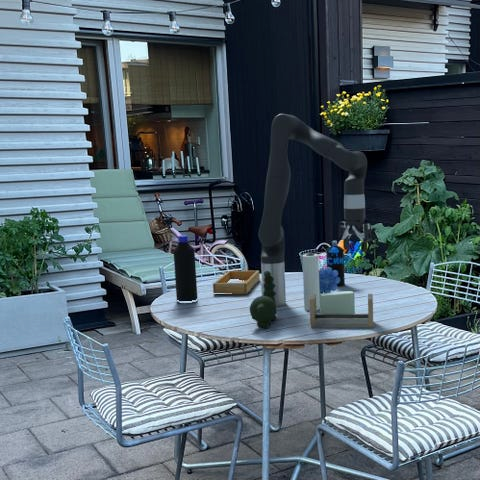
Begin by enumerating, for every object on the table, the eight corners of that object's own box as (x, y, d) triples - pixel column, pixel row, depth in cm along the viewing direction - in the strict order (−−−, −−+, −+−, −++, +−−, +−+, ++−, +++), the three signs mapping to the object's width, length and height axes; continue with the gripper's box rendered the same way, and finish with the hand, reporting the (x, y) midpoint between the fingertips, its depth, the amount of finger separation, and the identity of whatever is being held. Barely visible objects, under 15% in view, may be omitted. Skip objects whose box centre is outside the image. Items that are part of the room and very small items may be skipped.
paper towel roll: (318, 311, 235) (316, 255, 232) (302, 311, 237) (300, 255, 234) (322, 306, 242) (320, 252, 239) (307, 306, 244) (305, 252, 241)
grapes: (341, 292, 264) (340, 265, 262) (340, 296, 257) (339, 268, 256) (313, 292, 266) (312, 265, 265) (312, 296, 260) (311, 268, 258)
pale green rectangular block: (322, 320, 223) (322, 295, 222) (320, 317, 227) (319, 293, 225) (355, 317, 225) (354, 292, 224) (351, 314, 228) (351, 290, 227)
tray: (229, 281, 302) (228, 270, 301) (259, 281, 299) (259, 269, 298) (213, 296, 272) (212, 283, 272) (247, 296, 269) (246, 283, 268)
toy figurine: (258, 319, 235) (246, 332, 211) (256, 269, 234) (244, 276, 210) (283, 319, 234) (274, 332, 209) (281, 269, 233) (272, 276, 208)
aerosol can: (326, 283, 284) (325, 240, 282) (345, 282, 283) (343, 239, 280) (326, 287, 276) (325, 242, 274) (345, 286, 275) (344, 242, 272)
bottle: (194, 304, 258) (190, 237, 254) (174, 304, 260) (169, 237, 256) (200, 298, 266) (196, 234, 262) (180, 299, 268) (176, 234, 264)
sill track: (310, 327, 214) (309, 299, 213) (312, 321, 222) (311, 294, 220) (373, 328, 210) (372, 299, 208) (373, 321, 217) (372, 293, 216)
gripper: (376, 206, 222) (376, 251, 224) (347, 205, 234) (348, 247, 236) (361, 208, 218) (362, 254, 220) (333, 206, 229) (334, 250, 232)
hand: (355, 250), depth 228 cm, fingers open, 8 cm apart
